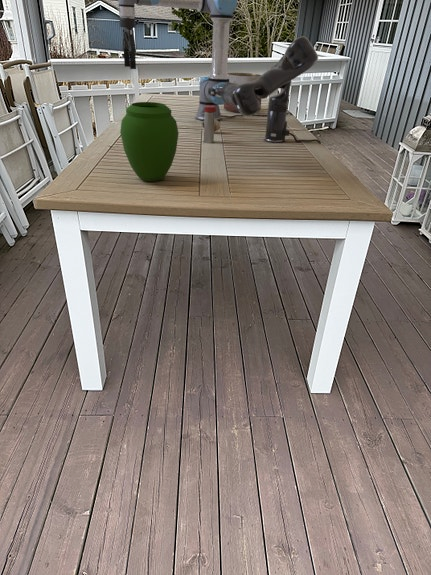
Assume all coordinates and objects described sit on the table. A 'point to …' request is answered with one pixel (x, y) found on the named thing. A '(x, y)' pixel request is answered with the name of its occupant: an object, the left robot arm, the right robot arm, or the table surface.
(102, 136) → the table surface
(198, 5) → the left robot arm
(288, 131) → the right robot arm
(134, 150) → the vase
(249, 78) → the planter
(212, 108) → the lid
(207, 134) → the jar
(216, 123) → the seashell
